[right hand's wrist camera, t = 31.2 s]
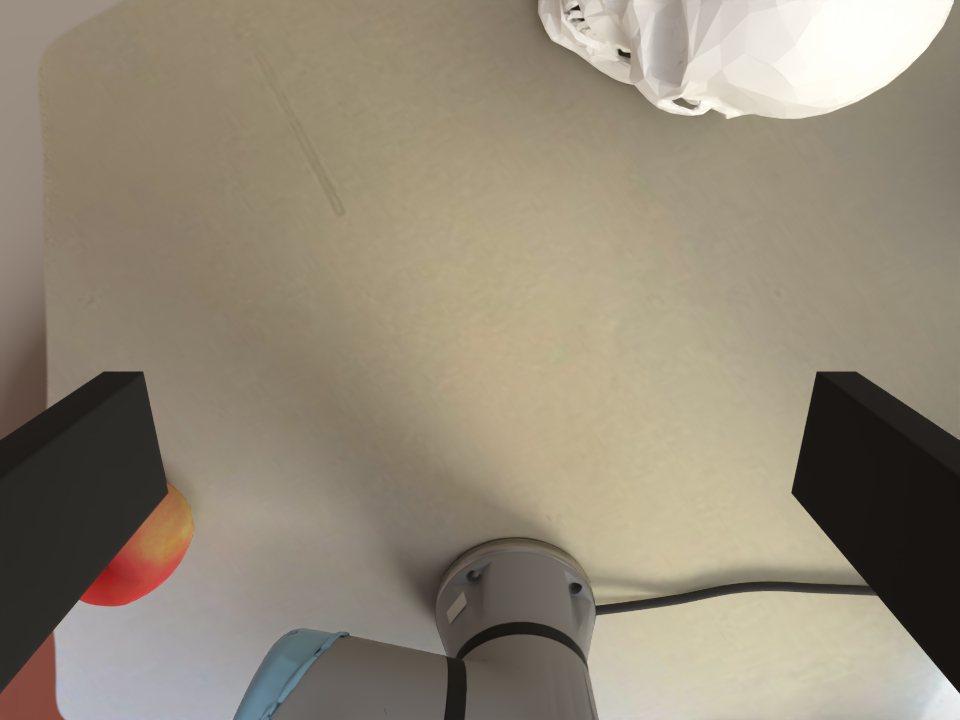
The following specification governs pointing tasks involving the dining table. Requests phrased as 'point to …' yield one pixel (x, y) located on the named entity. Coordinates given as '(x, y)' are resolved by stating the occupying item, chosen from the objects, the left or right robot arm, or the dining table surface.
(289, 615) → the dining table surface
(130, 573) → the apple
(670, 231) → the dining table surface
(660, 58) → the skull
